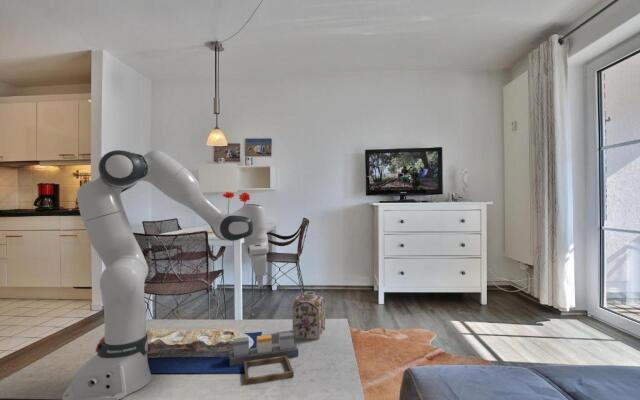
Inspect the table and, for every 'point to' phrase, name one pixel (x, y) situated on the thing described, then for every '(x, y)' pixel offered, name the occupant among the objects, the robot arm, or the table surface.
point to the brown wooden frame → (271, 376)
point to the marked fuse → (264, 344)
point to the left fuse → (241, 346)
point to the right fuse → (286, 341)
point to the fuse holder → (262, 355)
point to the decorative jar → (309, 316)
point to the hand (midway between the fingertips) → (258, 283)
